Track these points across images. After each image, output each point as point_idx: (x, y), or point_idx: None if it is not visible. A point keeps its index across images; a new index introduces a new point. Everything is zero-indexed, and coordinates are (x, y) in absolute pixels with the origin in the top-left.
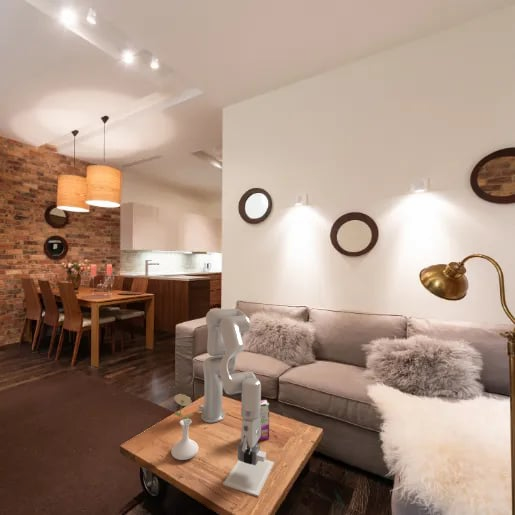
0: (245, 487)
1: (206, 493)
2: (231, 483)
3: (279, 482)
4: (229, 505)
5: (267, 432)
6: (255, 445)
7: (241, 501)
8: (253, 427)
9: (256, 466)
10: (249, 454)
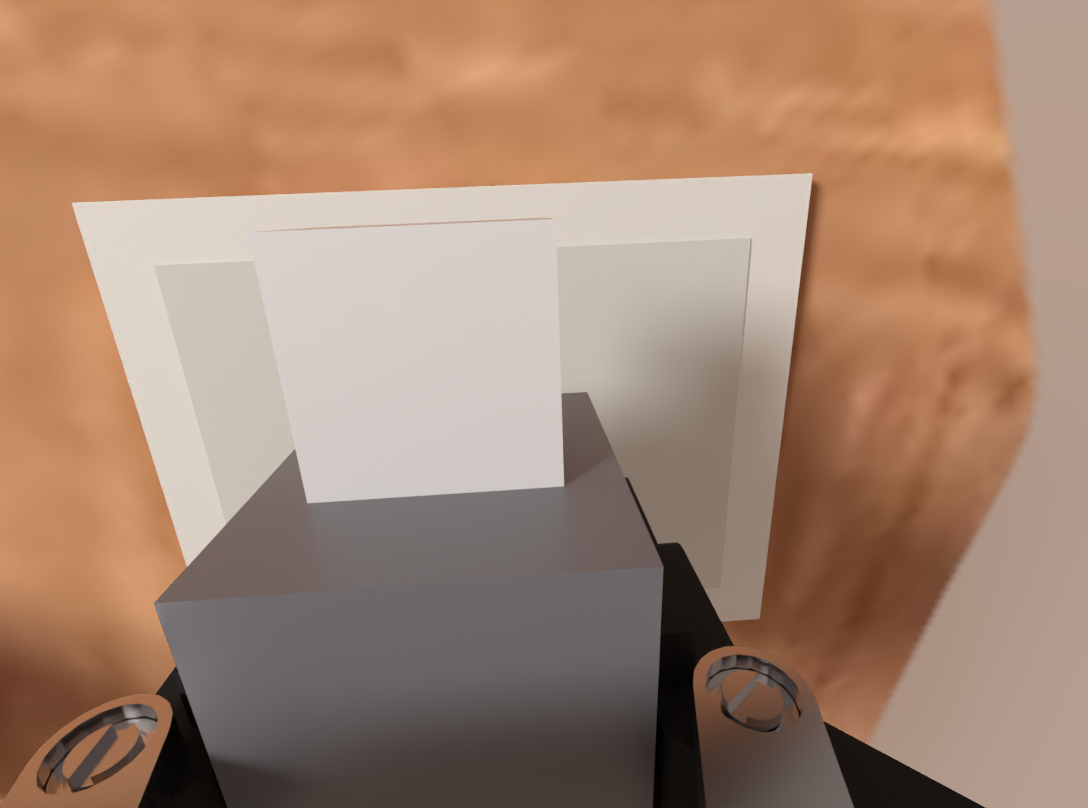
0: (740, 385)
1: (888, 672)
2: (733, 549)
3: None
4: (982, 430)
5: None
6: (282, 726)
7: (910, 341)
8: None
9: None
10: (774, 675)
